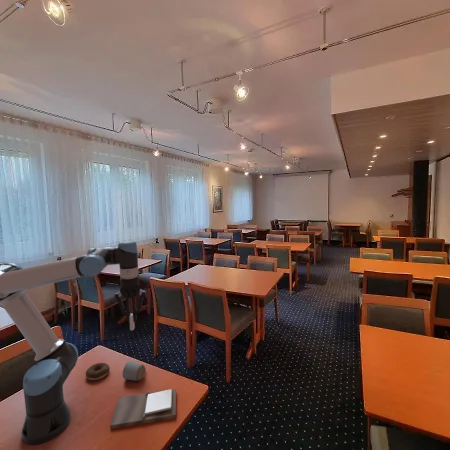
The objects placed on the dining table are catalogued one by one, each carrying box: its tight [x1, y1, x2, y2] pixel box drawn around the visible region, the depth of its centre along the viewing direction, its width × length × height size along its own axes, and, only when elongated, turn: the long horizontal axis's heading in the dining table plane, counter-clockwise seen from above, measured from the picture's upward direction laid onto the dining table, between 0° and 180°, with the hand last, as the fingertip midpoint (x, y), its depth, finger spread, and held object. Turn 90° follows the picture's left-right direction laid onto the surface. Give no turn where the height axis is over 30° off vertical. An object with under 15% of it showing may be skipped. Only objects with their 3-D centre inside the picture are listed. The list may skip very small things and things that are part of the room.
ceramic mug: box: [122, 360, 147, 382], centre depth 125 cm, size 11×8×8 cm
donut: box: [85, 362, 110, 381], centre depth 127 cm, size 11×11×4 cm
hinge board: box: [109, 388, 177, 430], centre depth 105 cm, size 24×14×2 cm, turn 100°
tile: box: [145, 388, 173, 415], centre depth 106 cm, size 10×10×1 cm
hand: (132, 328), depth 114 cm, fingers closed
